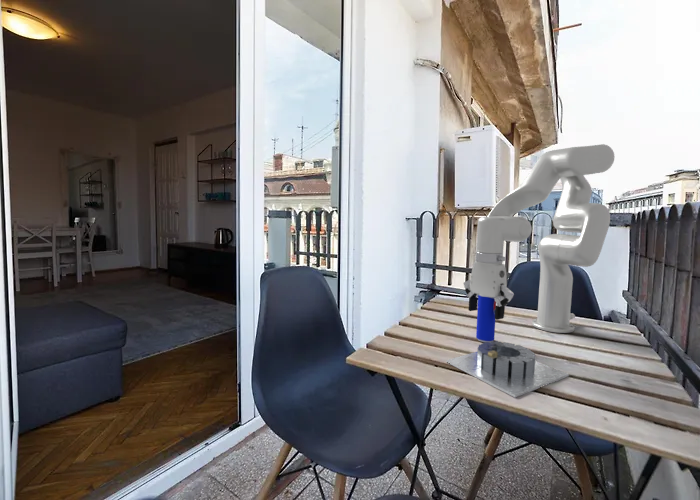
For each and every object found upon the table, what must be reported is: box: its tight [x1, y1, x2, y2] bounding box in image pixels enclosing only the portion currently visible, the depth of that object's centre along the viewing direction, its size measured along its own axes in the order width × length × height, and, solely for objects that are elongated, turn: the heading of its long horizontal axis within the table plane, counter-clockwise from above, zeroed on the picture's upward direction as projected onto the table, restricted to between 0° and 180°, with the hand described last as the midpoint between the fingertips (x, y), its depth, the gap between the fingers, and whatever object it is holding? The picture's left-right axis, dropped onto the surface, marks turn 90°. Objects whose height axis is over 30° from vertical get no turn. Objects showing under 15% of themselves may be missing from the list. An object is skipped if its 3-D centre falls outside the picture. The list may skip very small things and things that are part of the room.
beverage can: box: [475, 294, 497, 343], centre depth 108 cm, size 5×5×15 cm
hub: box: [445, 341, 570, 399], centre depth 89 cm, size 20×20×5 cm
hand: (485, 314), depth 108 cm, fingers open, 9 cm apart
